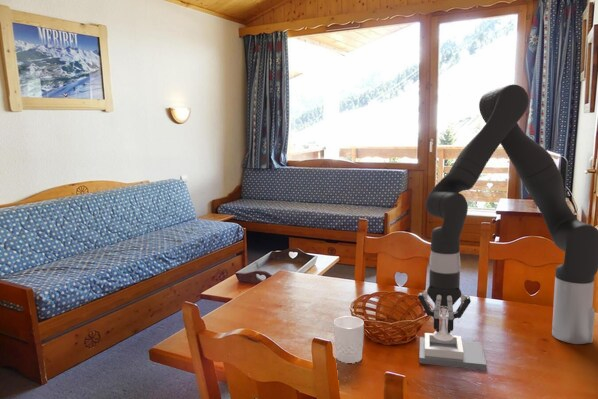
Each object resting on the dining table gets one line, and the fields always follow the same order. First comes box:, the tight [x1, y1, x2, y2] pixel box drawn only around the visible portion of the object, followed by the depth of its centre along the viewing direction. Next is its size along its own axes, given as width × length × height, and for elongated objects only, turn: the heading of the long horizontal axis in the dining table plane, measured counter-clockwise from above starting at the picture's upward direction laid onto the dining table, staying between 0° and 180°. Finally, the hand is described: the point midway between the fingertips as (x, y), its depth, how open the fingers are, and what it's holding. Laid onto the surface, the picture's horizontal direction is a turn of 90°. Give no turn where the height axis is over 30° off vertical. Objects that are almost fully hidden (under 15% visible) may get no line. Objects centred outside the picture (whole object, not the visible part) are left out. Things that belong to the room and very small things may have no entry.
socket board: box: [418, 332, 487, 371], centre depth 120 cm, size 16×12×4 cm
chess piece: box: [433, 306, 453, 341], centre depth 119 cm, size 5×5×10 cm
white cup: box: [333, 315, 365, 364], centre depth 120 cm, size 8×8×10 cm
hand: (443, 330), depth 120 cm, fingers closed on chess piece
